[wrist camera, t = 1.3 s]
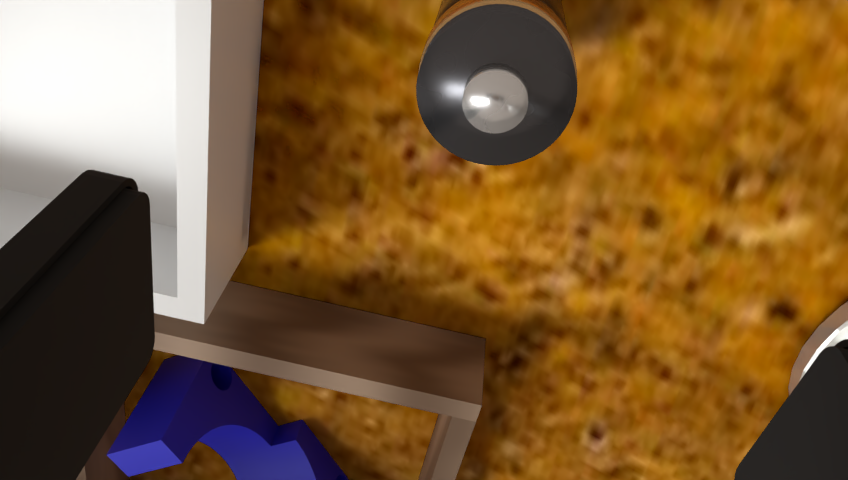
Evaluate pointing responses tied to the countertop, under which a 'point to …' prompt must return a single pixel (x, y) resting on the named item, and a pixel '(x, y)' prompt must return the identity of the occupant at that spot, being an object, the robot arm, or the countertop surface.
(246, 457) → the cable clip
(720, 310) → the countertop surface
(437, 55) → the battery cell
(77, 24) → the bin
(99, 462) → the brown hollow square frame
